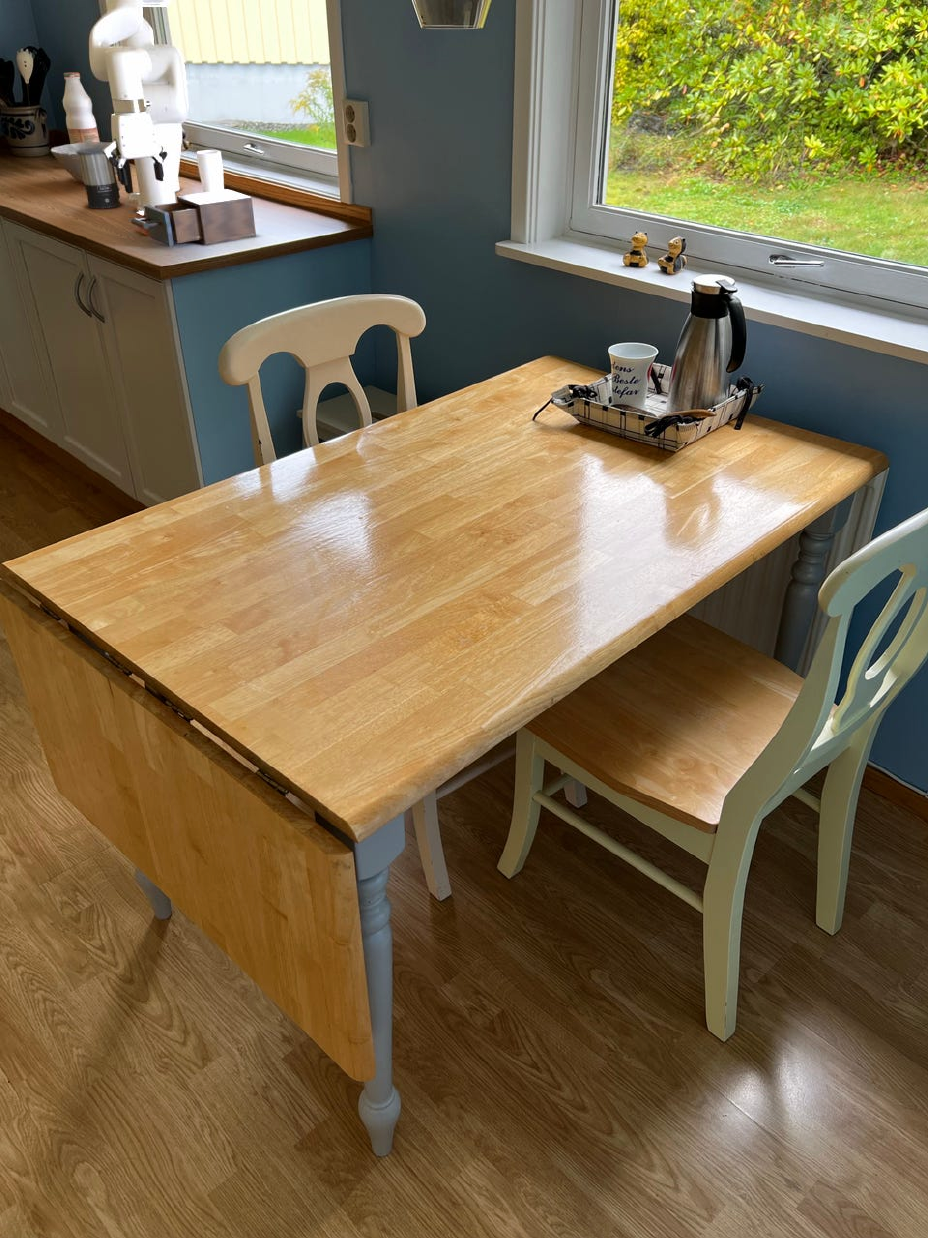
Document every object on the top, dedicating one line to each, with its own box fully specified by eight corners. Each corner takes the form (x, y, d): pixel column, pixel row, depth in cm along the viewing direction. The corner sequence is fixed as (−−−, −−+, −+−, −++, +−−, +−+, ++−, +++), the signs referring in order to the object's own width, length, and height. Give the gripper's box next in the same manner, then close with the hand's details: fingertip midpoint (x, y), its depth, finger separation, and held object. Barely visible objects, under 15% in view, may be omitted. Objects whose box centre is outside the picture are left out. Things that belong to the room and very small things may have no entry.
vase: (173, 196, 292) (156, 87, 276) (132, 192, 296) (112, 85, 280) (200, 187, 303) (185, 81, 287) (160, 183, 308) (143, 79, 291)
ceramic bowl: (147, 179, 313) (141, 145, 308) (90, 191, 297) (83, 156, 292) (101, 172, 323) (94, 139, 317) (43, 183, 307) (35, 148, 301)
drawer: (151, 249, 237) (145, 216, 232) (131, 240, 244) (125, 207, 239) (218, 238, 247) (214, 205, 242) (197, 229, 254) (193, 198, 249)
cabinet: (205, 245, 244) (199, 204, 239) (182, 235, 252) (176, 196, 247) (256, 236, 252) (251, 196, 247) (232, 227, 260) (227, 189, 255)
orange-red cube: (146, 235, 252) (142, 214, 250) (138, 231, 255) (135, 211, 253) (163, 232, 255) (159, 212, 252) (155, 229, 258) (151, 209, 255)
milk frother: (98, 210, 276) (87, 153, 267) (68, 202, 284) (57, 147, 276) (141, 202, 285) (132, 147, 276) (111, 195, 293) (101, 141, 285)
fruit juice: (71, 168, 328) (52, 74, 312) (80, 163, 336) (61, 71, 320) (99, 168, 329) (81, 74, 313) (107, 163, 336) (90, 71, 320)
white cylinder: (205, 206, 281) (198, 149, 272) (229, 206, 281) (222, 149, 273) (202, 211, 275) (194, 153, 267) (226, 211, 276) (219, 153, 267)
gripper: (155, 103, 245) (167, 176, 255) (89, 108, 236) (103, 184, 246) (169, 106, 241) (180, 180, 250) (101, 111, 231) (115, 188, 241)
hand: (142, 182), depth 248 cm, fingers open, 9 cm apart
